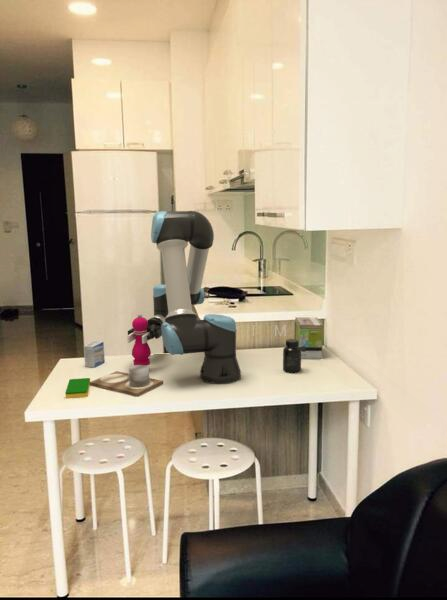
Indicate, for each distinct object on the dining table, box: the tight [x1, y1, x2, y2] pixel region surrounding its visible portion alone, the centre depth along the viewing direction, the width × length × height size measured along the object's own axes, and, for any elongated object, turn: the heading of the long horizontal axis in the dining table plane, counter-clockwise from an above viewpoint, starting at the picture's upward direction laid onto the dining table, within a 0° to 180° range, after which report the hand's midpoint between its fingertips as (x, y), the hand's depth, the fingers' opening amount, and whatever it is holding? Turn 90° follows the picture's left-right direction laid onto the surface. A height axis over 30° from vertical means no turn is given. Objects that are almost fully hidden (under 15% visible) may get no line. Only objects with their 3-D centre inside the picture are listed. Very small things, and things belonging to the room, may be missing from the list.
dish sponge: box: [65, 377, 91, 399], centre depth 176 cm, size 7×14×2 cm, turn 11°
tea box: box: [294, 316, 324, 360], centre depth 215 cm, size 15×10×15 cm
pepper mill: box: [131, 312, 152, 366], centre depth 194 cm, size 7×7×20 cm
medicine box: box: [83, 340, 105, 368], centre depth 204 cm, size 8×4×9 cm, turn 162°
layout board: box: [90, 365, 164, 398], centre depth 180 cm, size 22×14×7 cm, turn 59°
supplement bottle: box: [282, 338, 302, 374], centre depth 194 cm, size 7×7×12 cm
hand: (135, 339), depth 188 cm, fingers closed on pepper mill, 5 cm apart
